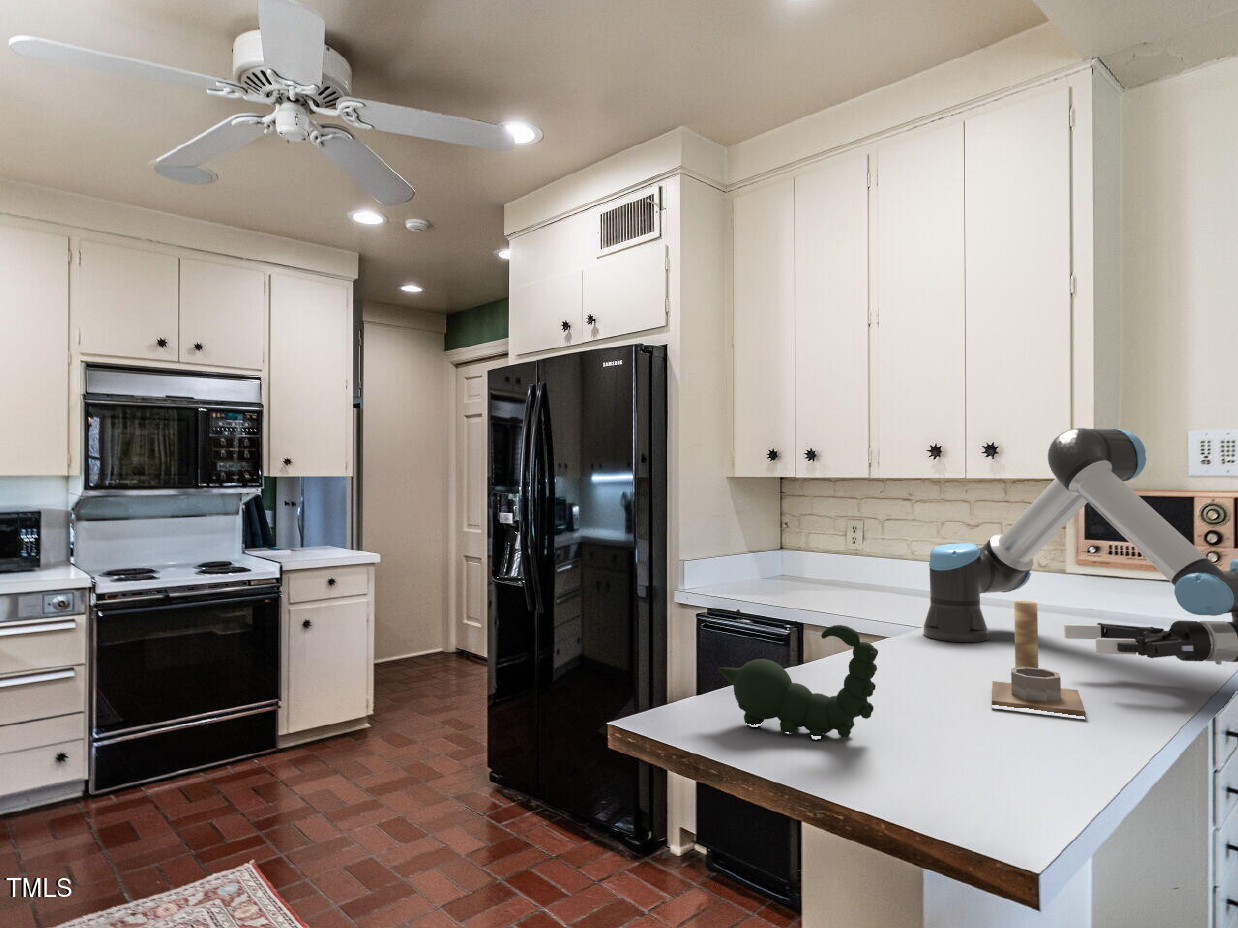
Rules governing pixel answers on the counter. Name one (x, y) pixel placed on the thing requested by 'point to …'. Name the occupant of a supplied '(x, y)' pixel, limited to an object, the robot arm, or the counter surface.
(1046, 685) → the cup bracket
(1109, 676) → the counter surface
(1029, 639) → the oak cylinder
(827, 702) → the toy figurine
